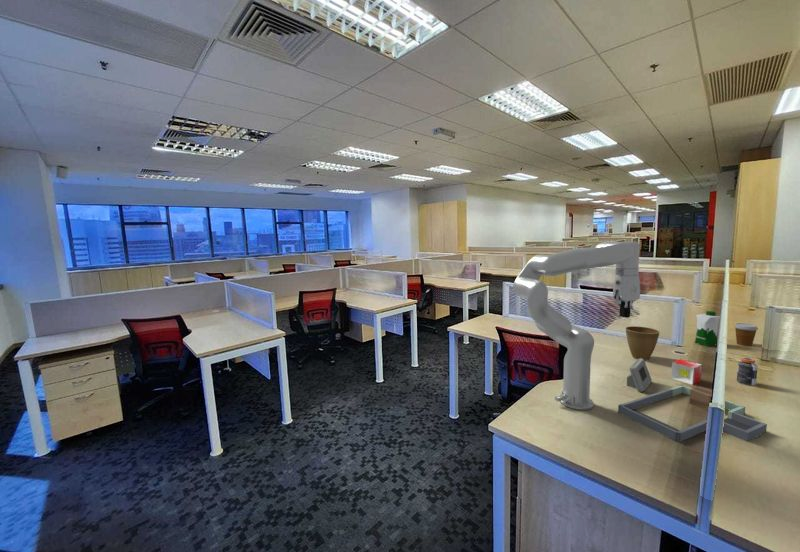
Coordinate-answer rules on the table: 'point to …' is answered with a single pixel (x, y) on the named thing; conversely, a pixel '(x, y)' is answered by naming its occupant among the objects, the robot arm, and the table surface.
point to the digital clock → (639, 376)
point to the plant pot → (641, 341)
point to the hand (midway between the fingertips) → (624, 316)
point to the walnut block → (700, 397)
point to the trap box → (732, 425)
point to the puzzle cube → (686, 371)
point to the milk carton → (707, 328)
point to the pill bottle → (747, 371)
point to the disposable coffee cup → (745, 333)
